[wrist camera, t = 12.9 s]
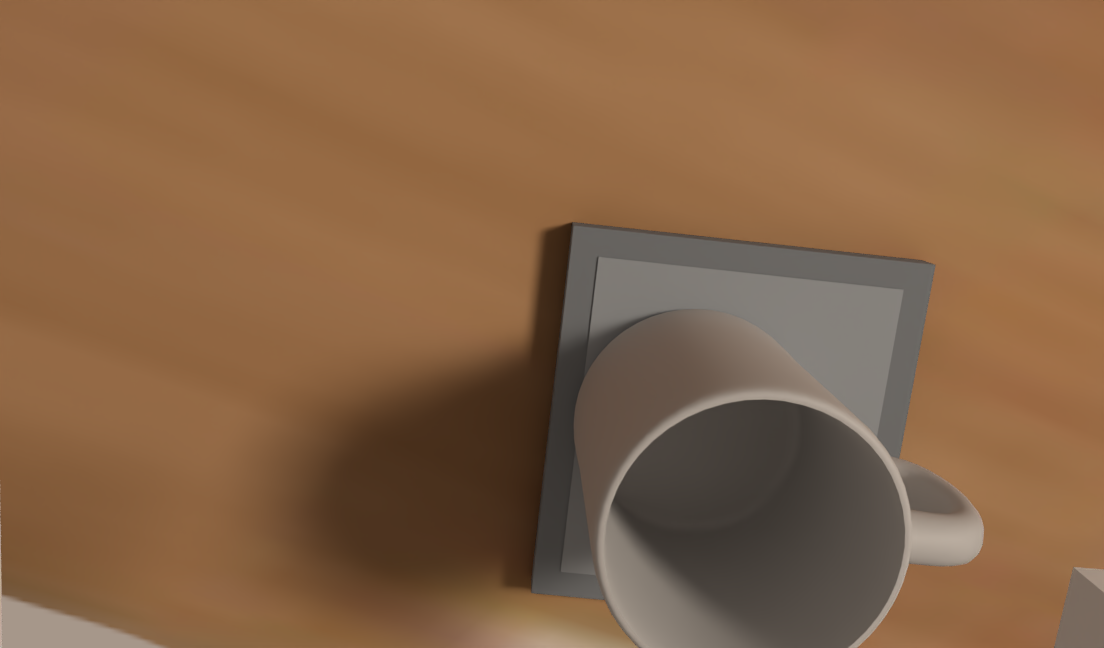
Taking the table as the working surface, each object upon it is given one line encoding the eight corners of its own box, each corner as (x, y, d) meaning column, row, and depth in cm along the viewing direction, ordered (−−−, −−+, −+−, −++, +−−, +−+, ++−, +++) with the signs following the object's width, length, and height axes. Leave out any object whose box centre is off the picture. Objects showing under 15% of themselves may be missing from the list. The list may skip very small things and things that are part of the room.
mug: (556, 514, 37) (567, 674, 27) (592, 290, 36) (618, 364, 25) (871, 555, 38) (1005, 728, 27) (919, 337, 36) (1083, 429, 26)
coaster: (531, 578, 39) (531, 593, 38) (572, 222, 37) (573, 225, 35) (858, 609, 40) (868, 625, 39) (922, 260, 37) (936, 265, 36)
